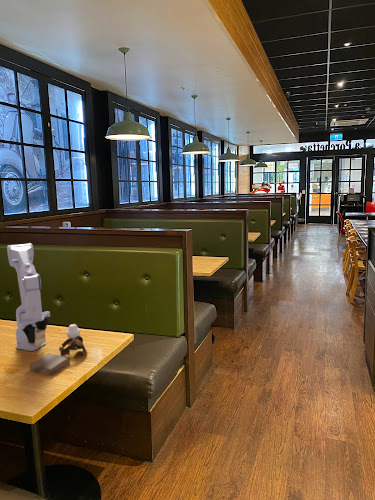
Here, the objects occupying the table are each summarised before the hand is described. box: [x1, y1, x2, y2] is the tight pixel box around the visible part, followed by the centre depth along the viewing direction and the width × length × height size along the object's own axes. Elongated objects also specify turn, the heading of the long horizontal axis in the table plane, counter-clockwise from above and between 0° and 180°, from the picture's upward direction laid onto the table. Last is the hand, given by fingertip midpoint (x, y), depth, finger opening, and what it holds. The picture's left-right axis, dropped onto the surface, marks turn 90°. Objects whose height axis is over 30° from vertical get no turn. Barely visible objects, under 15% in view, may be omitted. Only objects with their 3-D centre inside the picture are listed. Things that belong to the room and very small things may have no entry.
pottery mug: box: [58, 335, 88, 358], centre depth 151 cm, size 12×10×8 cm
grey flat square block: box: [29, 353, 71, 377], centre depth 141 cm, size 10×10×3 cm
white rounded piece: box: [65, 323, 81, 339], centre depth 165 cm, size 6×6×7 cm
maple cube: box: [28, 329, 47, 347], centre depth 144 cm, size 4×4×5 cm
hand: (36, 340), depth 145 cm, fingers closed on maple cube, 4 cm apart
